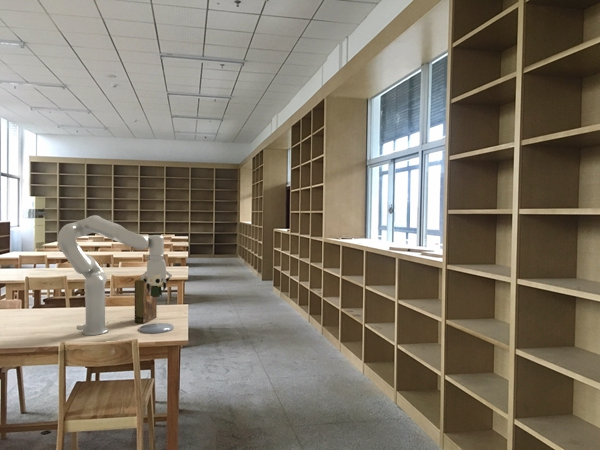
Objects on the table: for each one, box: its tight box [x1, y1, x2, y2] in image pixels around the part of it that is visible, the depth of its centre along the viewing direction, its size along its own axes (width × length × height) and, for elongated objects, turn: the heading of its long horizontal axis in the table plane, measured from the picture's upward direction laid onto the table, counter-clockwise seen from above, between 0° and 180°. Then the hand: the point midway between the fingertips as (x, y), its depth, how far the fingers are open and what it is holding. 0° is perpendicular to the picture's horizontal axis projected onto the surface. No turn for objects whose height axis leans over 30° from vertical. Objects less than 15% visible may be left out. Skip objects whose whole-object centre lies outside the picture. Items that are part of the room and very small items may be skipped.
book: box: [134, 276, 158, 324], centre depth 278 cm, size 16×6×25 cm, turn 168°
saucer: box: [138, 322, 175, 334], centre depth 260 cm, size 18×18×1 cm
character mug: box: [148, 274, 164, 298], centre depth 259 cm, size 11×7×13 cm, turn 150°
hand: (156, 289), depth 259 cm, fingers closed on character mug, 7 cm apart
